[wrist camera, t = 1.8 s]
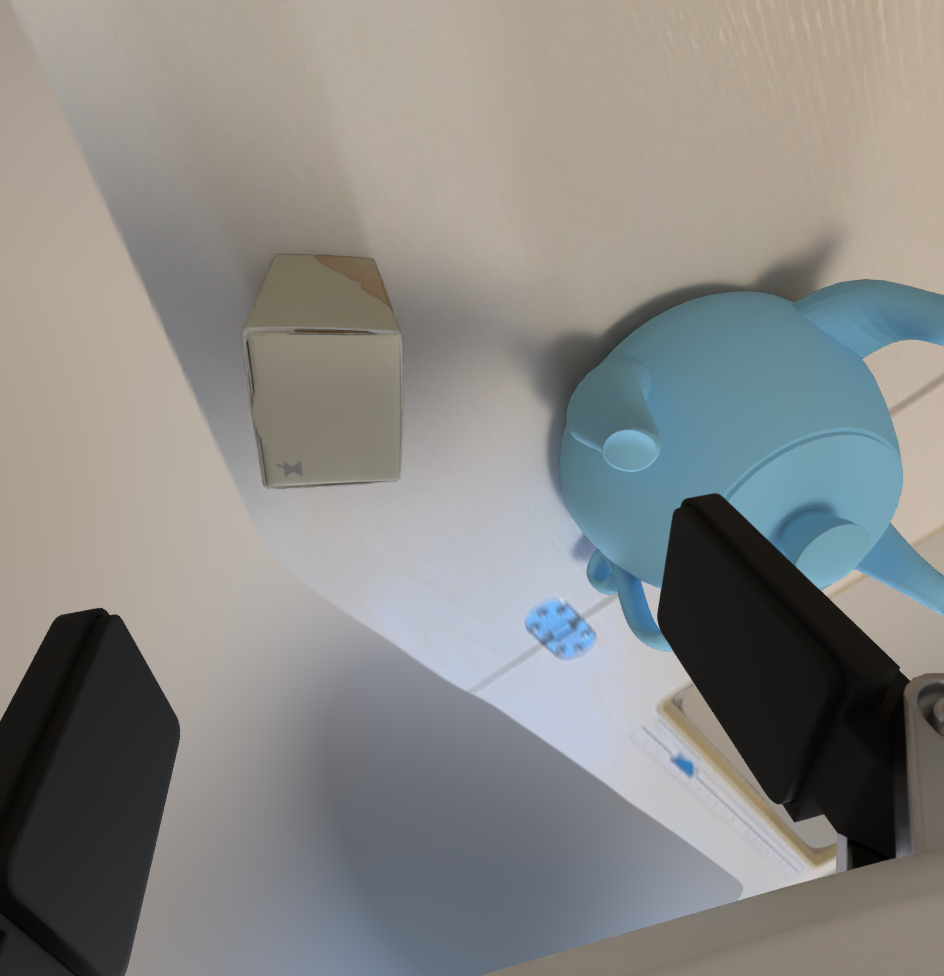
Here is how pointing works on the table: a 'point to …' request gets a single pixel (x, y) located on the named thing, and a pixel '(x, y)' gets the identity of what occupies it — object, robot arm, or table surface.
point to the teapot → (749, 437)
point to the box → (324, 374)
